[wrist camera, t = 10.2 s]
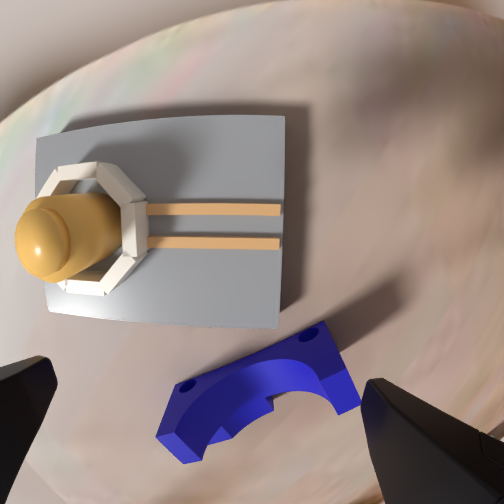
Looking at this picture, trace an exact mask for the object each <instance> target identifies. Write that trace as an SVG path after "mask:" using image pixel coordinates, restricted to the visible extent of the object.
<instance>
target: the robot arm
mask: <svg viewBox="0 0 504 504" xmlns="http://www.w3.org/2000/svg"><path fill="white" fill-rule="evenodd" d="M57 385H58V382H57V378H56V375H55V372H54V369H53V366H52V363H51V361H50V359H49V358H47V357H43V356H39V355H38V356H34V357H31V358H28V359H25V360H22V361H19V362H15V363H12V364H9V365H6V366H3V367H0V504H5V502H6V500H7V497H8V495H9V493H10V490H11V488H12V485H13V483H14V481H15V478H16V476H17V474H18V472H19V470H20V467H21V465H22V463H23V461H24V459H25V457H26V455H27V453H28V451H29V448H30V446H31V444H32V442H33V440H34V438H35V436H36V434H37V433H38V431H39V429H40V427H41V424H42V422H43V420H44V417H45V415H46V412H47V410H48V408H49V405H50V403H51V400H52V398H53V396H54V393H55V391H56V389H57ZM361 414H362V418H363V423H364V428H365V433H366V438H367V443H368V448H369V453H370V457H371V460H372V463H373V466H374V469H375V472H376V476H377V479H378V482H379V485H380V488H381V491H382V494H383V498H384V501H385V504H504V442H502V441H500V440H498V439H495V438H493V437H491V436H489V435H487V434H485V433H483V432H479V430H477V429H475V428H473V427H471V426H470V425H468V424H466V423H464V422H462V421H460V420H458V419H456V418H454V417H452V416H451V415H449V414H447V413H445V412H443V411H441V410H439V409H437V408H436V407H434V406H432V405H430V404H428V403H427V402H425V401H423V400H421V399H419V398H417V397H416V396H414V395H412V394H410V393H409V392H407V391H405V390H403V389H401V388H400V387H398V386H396V385H394V384H393V383H391V382H389V381H387V380H386V379H384V378H375V379H369V380H368V381H367V383H366V386H365V390H364V393H363V397H362V401H361Z"/></svg>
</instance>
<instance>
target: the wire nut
mask: <svg viewBox="0 0 504 504" xmlns="http://www.w3.org/2000/svg"><path fill="white" fill-rule="evenodd" d="M121 243H122V229H121V208H120V206H119V205H118V204H117V203H116V202H115V201H114V200H113V198H112V197H110V196H109V195H107V194H104V193H100V192H91V193H77V194H65V195H54V196H44V197H39V198H37V199H35V200H34V201H32V202H31V203H30V204H29V205H28V207H27V208H26V209H25V211H24V213H23V215H22V217H21V218H20V220H19V221H18V224H17V227H16V232H15V246H16V251H17V254H18V257H19V259H20V261H21V263H22V265H23V266H24V268H25V269H26V270H27V271H28V272H29V273H31V274H32V275H34V276H37V277H38V278H40V279H41V280H43V281H46V282H49V283H58V282H61V281H63V280H65V279H67V278H69V277H71V276H73V275H75V274H76V273H78V272H80V271H82V270H84V269H86V268H88V267H90V266H92V265H93V264H95V263H97V262H99V261H101V260H103V259H105V258H107V257H109V256H111V255H112V254H114V253H115V252H116V251H117V250H118V248H119V247H120V245H121Z"/></svg>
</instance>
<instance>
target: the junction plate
mask: <svg viewBox="0 0 504 504" xmlns="http://www.w3.org/2000/svg"><path fill="white" fill-rule="evenodd" d="M284 171H285V116H275V115H204V116H184V117H169V118H158V119H147V120H138V121H129V122H122V123H114V124H107V125H101V126H95V127H89V128H83V129H78V130H73V131H68V132H63V133H58V134H54V135H49V136H45V137H41V138H37V143H36V165H35V198H36V199H37V198H39V197H44V196H54V195H65V194H77V193H91V192H100V193H104V194H107V195H109V196H110V197H112V198H113V200H114V201H115V202H116V203H117V204H118V205H119V206H120V208H121V229H122V243H121V245H120V247H119V248H118V250H117V251H116V252H115V253H114V254H112V255H111V256H109V257H107V258H105V259H103V260H101V261H99V262H97V263H95V264H93V265H92V266H90V267H88V268H86V269H84V270H82V271H80V272H78V273H76V274H75V275H73V276H71V277H69V278H67V279H65V280H63V281H61V282H58V283H49V282H46V281H43V283H44V289H45V294H46V300H47V305H48V310H49V311H51V312H57V313H64V314H71V315H78V316H86V317H94V318H102V319H111V320H121V321H131V322H142V323H153V324H166V325H181V326H198V327H220V328H257V329H278V328H279V310H280V291H281V269H282V243H283V213H284Z"/></svg>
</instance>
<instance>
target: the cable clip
mask: <svg viewBox="0 0 504 504" xmlns="http://www.w3.org/2000/svg"><path fill="white" fill-rule="evenodd" d="M290 391H306V392H312V393H315V394H318V395H320V396H322V397H324V398H326V399H327V400H328V401H329V402H330V403H331V404H332V405H333V407H334V408H335V410H336V412H337V414H338V415H340V414H342V413H345V412H347V411H349V410H351V409H353V408H355V407H357V406H359V405H361V399H360V397H359V394H358V392H357V390H356V388H355V386H354V383H353V381H352V379H351V377H350V375H349V373H348V370H347V368H346V366H345V364H344V362H343V360H342V358H341V355H340V353H339V351H338V349H337V347H336V345H335V343H334V341H333V339H332V337H331V334H330V332H329V330H328V328H327V326H326V324H325V322H324V321H322V322H320V323H318V324H316V325H314V326H312V327H310V328H308V329H306V330H304V331H302V332H300V333H298V334H295V335H293V336H291V337H289V338H287V339H285V340H283V341H281V342H278V343H276V344H274V345H272V346H270V347H267V348H265V349H263V350H261V351H258V352H256V353H254V354H252V355H249V356H247V357H245V358H242V359H240V360H238V361H235V362H233V363H230V364H228V365H226V366H223V367H221V368H218V369H216V370H213V371H211V372H208V373H206V374H203V375H200V376H198V377H195V378H192V379H190V380H187V381H184V382H182V383H179V384H176V385H175V387H174V389H173V392H172V395H171V397H170V400H169V402H168V405H167V408H166V410H165V413H164V415H163V418H162V421H161V423H160V426H159V429H158V431H157V434H156V438H157V439H158V440H159V441H160V442H161V443H162V444H163V445H164V446H165V447H166V448H167V449H168V450H169V451H170V452H171V453H172V454H173V455H174V456H175V457H176V458H177V459H178V460H179V461H181V462H182V463H183V464H187V463H192V462H197V461H202V459H203V455H204V452H205V449H206V447H207V445H210V444H214V443H218V442H221V441H225V440H228V439H232V438H233V437H234V436H235V435H236V434H237V433H238V432H239V431H241V430H242V429H243V428H244V427H246V426H247V425H248V424H250V423H251V422H253V421H254V420H256V419H258V418H259V417H261V416H263V415H265V414H268V413H270V412H272V411H274V405H273V399H272V397H271V395H274V394H278V393H283V392H290Z"/></svg>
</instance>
